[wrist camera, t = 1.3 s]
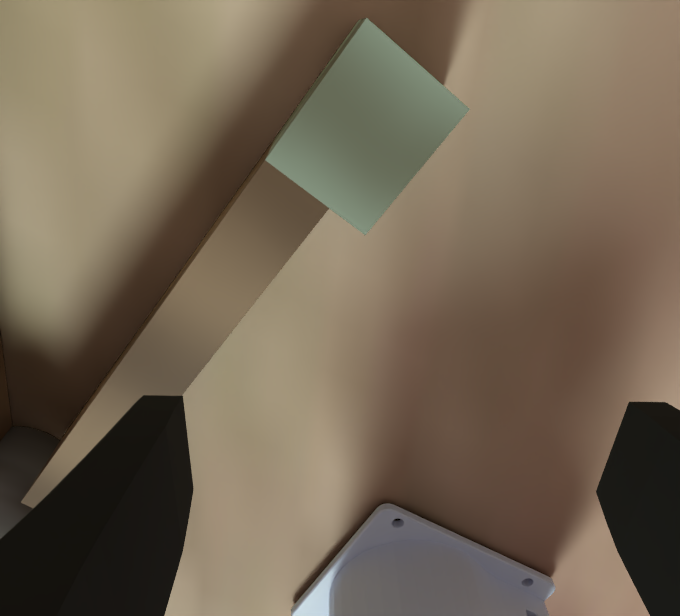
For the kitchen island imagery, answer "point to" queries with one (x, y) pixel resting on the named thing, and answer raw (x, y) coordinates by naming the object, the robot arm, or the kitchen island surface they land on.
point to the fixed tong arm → (18, 459)
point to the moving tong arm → (277, 222)
